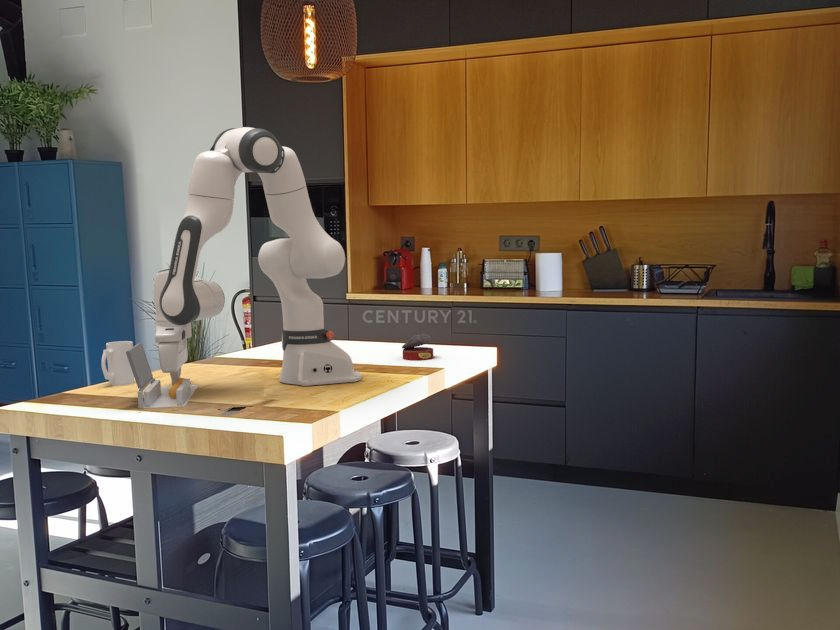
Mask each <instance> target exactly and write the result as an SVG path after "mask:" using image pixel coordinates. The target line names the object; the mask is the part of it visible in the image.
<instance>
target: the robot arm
mask: <svg viewBox="0 0 840 630" xmlns="http://www.w3.org/2000/svg"><path fill="white" fill-rule="evenodd" d="M242 173H257V174H258V176H259V178H260V180H261V182H262V187H263V191H264V195H265V200H266V204H267V209H268V213H269V217H270V220H271V222H272V223H273V224H274V225H275V226H276V227H278V228H280V229H281V230H282V231H284V233H286V235H288V237H289V238H286V237H285V238H276V239H274V240H273V239H272V240H269V241H266V242H265V243H263V244H262V245H261V246H260V249H259V251H258V256H257V258H258V259H257V261H258V265H259V268H260V270H261V271H262V273H263V274H264V275H266V277H268V278H269V279H270V280H271V281H272V283H273V285H274V286H275V289H276V290H277V294H278V295H279V298H280V302H281V303H280V304H281V311H282V324H283V326H282V327H283V329H282V330H281V348H282V351H283V355H282V366H281V372H280V375H279V380H278V382H280V383H284V384H290V385H299V386H302V387H306V386H307V387H308V386H319V385H329V384H342V383H343V384H344V383H353V382H359V381H360V380H362V378H363V377H362V373H361V372H360V371H357V370H354V364H353V361H352V360H353V359H352V357H351V356H350V354H349V353H348V352H346V351H345V350H344V349H342V348H341V347H340V346H338V345H337V344H336V343H334V342H332V339H333V338H334V336H335V334H334V332H333V331H331V330H330V329H328V328H325V321H324V320H325V319H324V302H323V300H322V298H321V296H319V294H316V293H315V292H314V291H313V290H312V289H311V288H310V286H309V283H308V281H307V279H326V278H330V277H334V276H337V275H339V274H340V273H341V272H342V271H343V269H344V266H345V262H346V254H345V250H344V248H343V246H342V245H341V243H340V242H339V241H337V240H336V239H334V238H333V237H331V235H329V234H328V233H327V232H326V231H325V230H324V228H323V227H322V226H321V224H320V223H319V221H318V219H317V218H316V216H315V213H314V210H313V208H312V203H311V199H310V196H309V193H308V192H309V191H308V188H307V187H308V186H307V184H306V183H307V182H306V178H305V175H304V172H303V169H302V166H301V163H300V161H299V158H298V156H297V154H296V152H295V151H294V150H293V149H292V148H290V147H287V146H282V145H281V143H280V141H279V140H278V138H276V136H275V135H274V134H273V133H272V132H270V131H268V130H267V129H264V128H259V127H256V128H255V127H250V126H243V127H239V128H238V127H235V128H234V127H231V128H227V129H225V130H223V131H221V132H220V133H219V134H218V135H217V136H216V137H215V140H214V141H213V144H212V146H211V147H210V149H209V150H206V151H202V152H201V153H199V154H198V155H196V157H195V159H194V162H193V165H192V169H191V173H190V177H189V182H188V183H189V184H188V191H187V193H188V194H187V201H186V207H185V210H184V214H183V217H182V219H181V221H180V223H179V225H178V228H177V231H176V235H175V239H174V244H173V249H172V254H171V260H170V264H169V268H166V269H161V270H160V271H157V273H156V274H155V277H154V280H153V304H154V305H153V306H154V308H155V317H154V325H155V326H154V327H155V331H154V332H155V334H154V341H155V343H157V349H158V356H159V364H160V371H161V372H162V373H164V374H169V375H170V378H171V386H173V384H174V383H175V382H176V380H177V379H179V378H181V374H182V366H183V365H185V363H186V362H187V361H188V356H189V355H188V339H190V338H192V336H193V334H192V323H193V322H196V321H203V320H206V319H210V318H213V317H215V316H218V315H219V314H220V313H221V312H222V311H223V309H224V306H225V302H226V301H225V294H224V290H223V289H222V288H221V286H220V285H219V284H218V283H216V282H215V281H210V280H207V279H203V278H201V277H198V276H197V275H196V274H197V269H198V265H199V259H200V254H201V251H202V248H203V246H204V245H205V244H206V243H207V242H208V240H210V239H211V238H213V237H215V235H217V234H219V233H221V232H222V231H224V230H225V229H226V228H227V227H228V226H229V224H230V222H231V219H232V215H233V211H234V204H235V203H234V202H235V191H236V190H235V186H236V184H237V180H238V178H239V177H240V176H241V174H242Z"/></svg>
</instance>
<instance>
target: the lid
mask: <svg viewBox="0 0 840 630" xmlns="http://www.w3.org/2000/svg"><path fill="white" fill-rule="evenodd" d="M126 355H127V358H128V360H129V363H130V366H131V369H132V372H133V375H134V382H135V383H136V387H137V388H138V391H143V392H144V391H145V390H146V389H147V388H148V387H149V386H150V385H151V382H152V381H153V380H154V378H155V377H154V375H153V371H152V368H151V366H150V364H149V361H148V357H147V354H146V352H145V349H144V347H143V343H142V342H139V343H137V344H135V345H133V347H132V348H131V349H129V350H128V351H126Z"/></svg>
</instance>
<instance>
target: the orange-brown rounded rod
mask: <svg viewBox="0 0 840 630" xmlns="http://www.w3.org/2000/svg"><path fill="white" fill-rule="evenodd" d="M185 379H186V378H183V377H180V378H179V379H177V380H176V382H175V383H174V384H173V385H171V386H172V387H171V388H170V389H169V392H168V393H169V396H170V397H171V398H173V399H177V398H176V390H177V389H178V387H179V386H180V385H181V384H182V382H183V381H184V380H185Z"/></svg>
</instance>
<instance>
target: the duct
mask: <svg viewBox="0 0 840 630" xmlns="http://www.w3.org/2000/svg"><path fill="white" fill-rule="evenodd" d="M153 378H154V380H153V381H152V382H151V383H150V384H149V385H148V386H147V387H146V388H145V389H144V390H143V391H139V390H138V391H137V393H136V394H137V409H140V410H141V409H155V408H156V409H158V408H159V409H160V408H174V407H175V408H177V407H179V408H180V407H186V405H188V402H189V401H190V400H191V398H192V396H193V395H194V393H196V390H197V388H198V387H199V384H192V385H191V378H184V379H185V380H184V381H183V382H182V384H181V385H180V386H179V387H178V389H177V390H176V398H177V399H173V398H171V397H170V396H169V393H168V392H169V389H170V388H171V387H172V386H173V385H169V386H168V385H167V386H162V385H161V380H160V379H156V378H155V377H153ZM170 411H171V412H174V411H178V409H176V410H175V409H173V410H170ZM154 412H156V413H157V412H159V410H158V411H153V410H152V411H151V413H154ZM139 413H140V411H139V412H138V414H139Z"/></svg>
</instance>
